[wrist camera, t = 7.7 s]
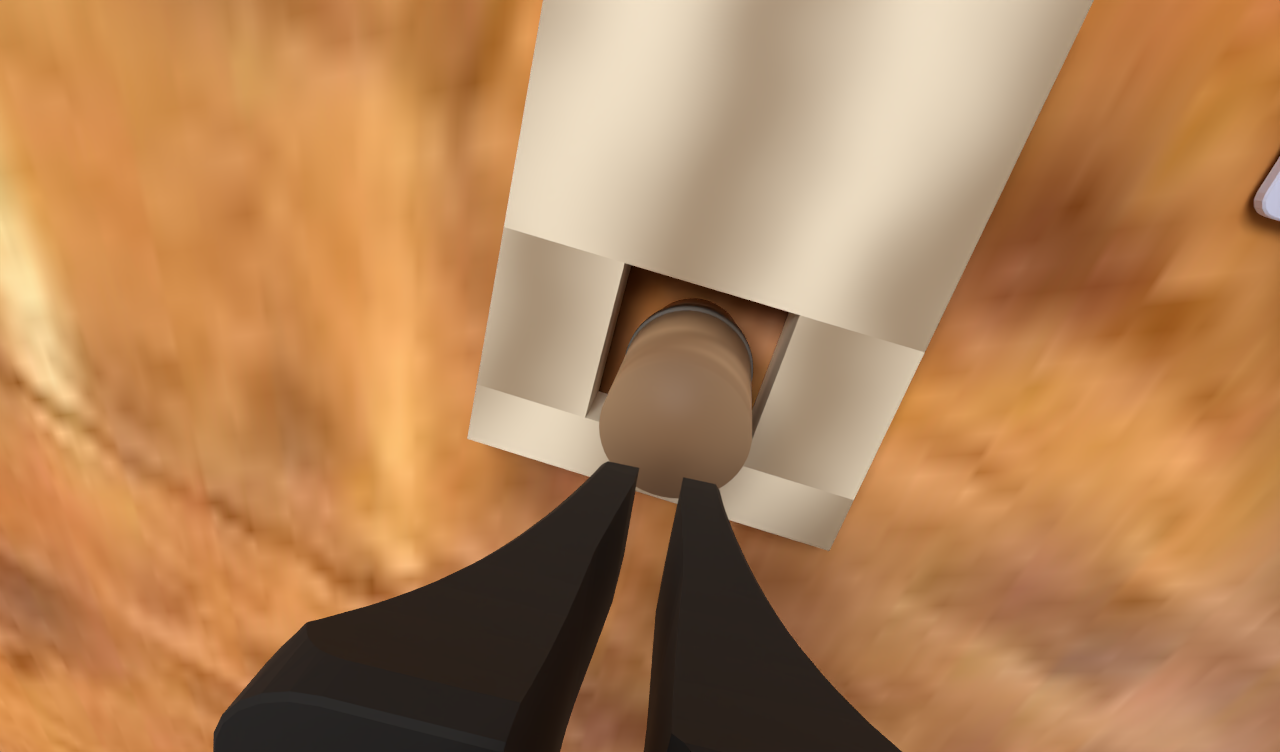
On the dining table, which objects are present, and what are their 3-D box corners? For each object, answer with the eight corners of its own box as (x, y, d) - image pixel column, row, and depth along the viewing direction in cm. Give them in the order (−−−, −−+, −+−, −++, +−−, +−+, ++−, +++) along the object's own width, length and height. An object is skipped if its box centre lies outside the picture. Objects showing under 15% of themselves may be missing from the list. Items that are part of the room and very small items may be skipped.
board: (1063, -8, 16) (1103, -21, 14) (822, 514, 23) (829, 551, 21) (591, -138, 16) (572, -167, 15) (489, 411, 23) (467, 438, 21)
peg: (764, 300, 20) (771, 378, 15) (738, 407, 22) (735, 514, 16) (645, 277, 20) (608, 345, 15) (627, 384, 22) (587, 482, 16)
